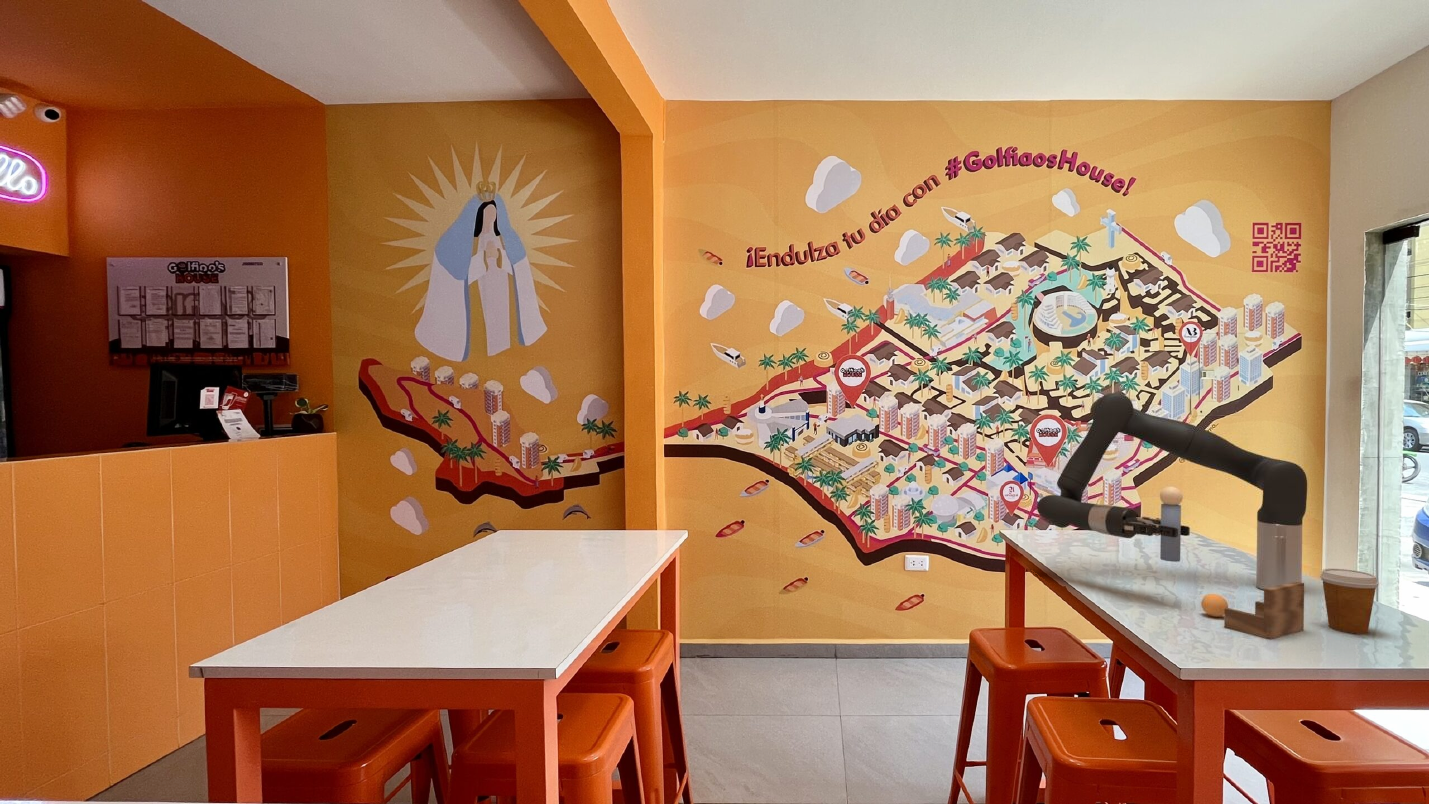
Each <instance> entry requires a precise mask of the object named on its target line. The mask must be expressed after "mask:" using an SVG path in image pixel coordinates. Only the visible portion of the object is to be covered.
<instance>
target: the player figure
mask: <svg viewBox="0 0 1429 804" xmlns="http://www.w3.org/2000/svg"><path fill="white" fill-rule="evenodd" d="M1183 498H1184V497H1183V493H1182V491H1181V490H1180V489H1179V488H1177V487H1175V486H1166V487H1164V488H1162V489H1161V491H1160V493H1159V499H1160V502H1162V503H1161V505H1160V519H1161V526H1168V527H1174V528H1177V529H1178V537H1175V538H1174V537H1168V536H1163V535H1160V547H1159V549H1160V553H1159V554H1160V557H1159V559H1160V560H1162V561H1165V562H1173V563H1174V562H1181V545H1182V544H1181V539H1182V538H1181V537H1182V535H1181V525H1182V520H1181V519H1182V504H1181V503H1182V502H1183Z"/></svg>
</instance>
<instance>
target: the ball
mask: <svg viewBox="0 0 1429 804" xmlns="http://www.w3.org/2000/svg"><path fill="white" fill-rule="evenodd" d="M1200 602H1201V603H1200V604H1201V608H1202V610H1203V612H1205V613H1206V615H1208V616H1211V617H1214V618H1217V617H1222V616H1224V613H1225V608H1229V603H1228V601H1227V600H1226V599H1225V597H1224V596H1222V595H1220V594H1217V593H1209V594H1206V595H1204V597H1202V599H1201V601H1200Z"/></svg>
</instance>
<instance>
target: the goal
mask: <svg viewBox="0 0 1429 804" xmlns="http://www.w3.org/2000/svg"><path fill="white" fill-rule="evenodd" d="M1304 613H1305V582H1294V583H1289V584H1284V585H1280V586H1275V587H1270V588H1265V589H1263V601H1261V600H1258V601H1255V602H1254V613H1251V612H1246V611H1242V610H1238V609H1234V608H1229V607H1228V608H1225V613H1224V615H1223V616H1224V617H1223V619H1224V620H1223V621H1224V625H1223V626H1224V627H1223V628H1226V629H1230V630H1233V631H1237V632H1241V633H1244V634H1248V635H1251V636H1256V637H1260V638H1263V639H1268V640H1272V639H1276V638H1280V637H1283V636H1288V635H1291V634H1294V633H1299V632H1303V631H1304V629H1305V628H1304V622H1305V619H1304V618H1305V614H1304Z"/></svg>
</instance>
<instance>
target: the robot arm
mask: <svg viewBox="0 0 1429 804" xmlns="http://www.w3.org/2000/svg"><path fill="white" fill-rule="evenodd" d="M1090 417H1091V419H1092V423H1091V425H1090V427H1089V430H1088V431H1087V433H1086V435H1085V437H1084V438H1083V439H1082V441H1081V443H1080V444H1079V445H1078V447H1077V448H1076V450H1074V452H1073V454H1072V455H1071V456H1070V458H1069V460H1068V461H1067V463H1066V464H1065V466H1064V468H1063V470H1062V471H1061V473H1060V475H1059V477H1058V479H1057V481H1056V486H1057V487H1058V489H1059V490H1060V495H1056V494H1049V495H1045V496H1042V498H1040V499H1039V500H1038V502H1037V504H1036V510H1037V513H1038V514H1039V516H1040V517H1041V518H1042V519H1044V520H1046V521H1047V522H1049V523H1051V524H1052V525H1054V526H1055V527H1057V528H1063V529H1065V528H1067V527H1069V526H1070V525H1073V526H1074V527H1076V528H1078V529H1082V530H1086V531H1092V532H1096V533H1098V534H1099V533H1100V534H1102V535H1107V536H1113V537H1119V538H1124V539H1132V538H1134V537H1135V536H1136V535H1143V536H1147V537H1148V536H1149V537H1152V536H1156V537H1159V536H1161V535H1163V536H1168V537H1174V538H1175V537H1178V529H1177V528H1174V527H1168V526H1161V518H1159V517H1155V518H1153V517H1149V516H1139V513H1138V512H1137V511H1136V510H1135V509H1134V508H1131V507H1125V506H1124V507H1123V506H1117V505H1111V504H1099V503H1091V502H1084V501H1083V502H1082V499H1083V494H1084V492H1085V490H1086V488H1087V487H1088V485H1089V483H1090V481H1091V479H1092V478H1093V475H1095V472H1096V470H1097V468H1098V466H1099V464H1100V463H1101V461H1102V459H1103V457H1104V455H1105V453H1106V451H1107V450H1108V449H1109V447H1110V445H1111V443H1113V441H1114V440H1115V438H1116V436H1117V435H1118V434H1119V433H1120V434H1123V435H1127V436H1130V437H1133V438H1136V439H1138V440H1140V441H1143V442H1146V443H1147V444H1149V445H1151V446H1153V447H1156V448H1158V449H1159V450H1161V451H1165V452H1166V453H1168V454H1171V455H1173V456H1175V457H1178V458H1180V459H1183V460H1185V461H1188V462H1190V463H1192V464H1193V463H1194V464H1196V465H1199V466H1202V467H1205V468H1209V469H1212V470H1216V471H1220V472H1223V473H1226V474H1229V475H1231V476H1234V477H1236V478H1237V479H1240V480H1241V481H1244V482H1246V483H1248V484H1250V485H1251V486H1254V487H1256V489H1257V488H1258V489H1259V490H1261V491H1262V500H1261V501H1262V504H1261V507H1260V508H1259V509H1258V510H1257V512H1256V513H1257V514H1256V572H1255V573H1256V577H1255V578H1256V579H1255V582H1256V584H1255V586H1256V588H1258V589H1261V590H1264V589H1265V588H1270V587H1275V586H1280V585H1284V584H1289V583H1294V582H1302V580H1303V579H1302V578H1303V519H1304V516H1305V514H1306V511H1307V501H1308V500H1307V499H1308V478H1307V475H1306V472H1305V470H1304V469H1303V468H1302V467H1301V466H1300V465H1299V464H1297V463H1294V462H1291V461H1288V460H1284V459H1283V460H1282V459H1279V458H1273V457H1269V456H1264V455H1262V454H1261V455H1260V454H1257V453H1255V452H1251V451H1250V450H1246V449H1243V448H1241V447H1239V446H1236V445H1235V444H1233V443H1232V442H1230V441H1228V440H1227V439H1225V438H1223V437H1222V436H1220V435H1218V434H1216V433H1213V432H1211V431H1209V430H1207V429H1204V428H1202V427H1199V426H1196V425H1194V424H1190V423H1188V422H1185V421H1180V420H1176V419H1171V418H1166V417H1160V416H1157V415H1152V414H1149V413H1146V412H1143V411H1141V410H1139V409H1137V408H1136V407H1134V404H1133V402H1132V400H1131V399H1130V398H1129V396H1128V395H1125V394H1123V393H1121V392H1111V393H1106V394H1105V395H1102V396H1101V397H1099V398H1098V399H1096V400H1095V401H1094V402H1093V403H1092V405H1091V406H1090ZM1190 531H1191V528H1190V526H1188V525H1182V524H1181V536H1186V537H1187V536H1190ZM1302 583H1303V582H1302Z"/></svg>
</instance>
